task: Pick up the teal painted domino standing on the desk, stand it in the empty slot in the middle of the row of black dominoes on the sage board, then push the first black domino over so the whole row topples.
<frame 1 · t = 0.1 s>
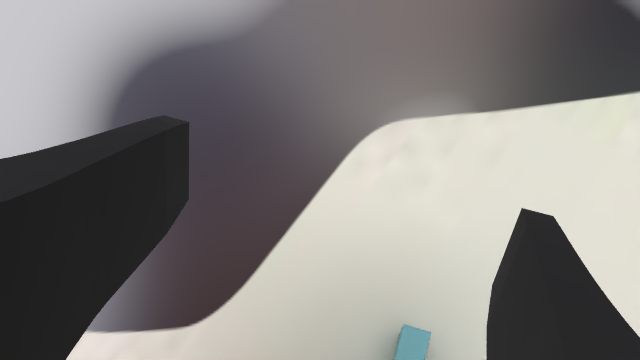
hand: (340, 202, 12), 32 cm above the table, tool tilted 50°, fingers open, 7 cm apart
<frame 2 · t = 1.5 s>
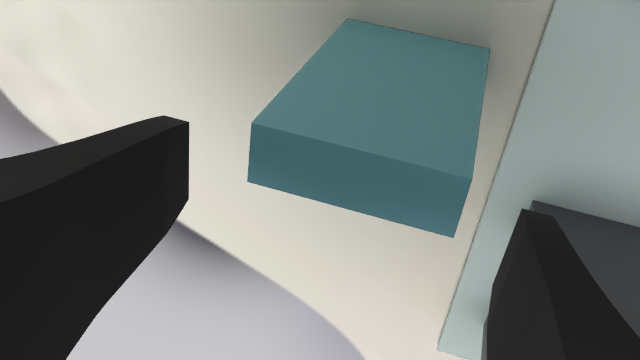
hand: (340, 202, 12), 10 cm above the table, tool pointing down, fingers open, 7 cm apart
teal domino: (412, 55, 21), on the table
black domino 2: (594, 235, 22), resting on sage board
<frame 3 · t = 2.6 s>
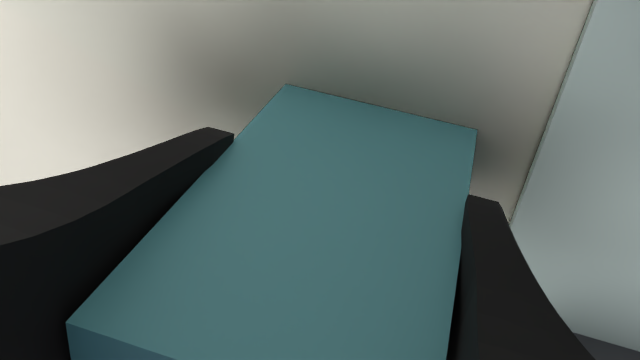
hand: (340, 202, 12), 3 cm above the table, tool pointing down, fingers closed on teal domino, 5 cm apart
teal domino: (373, 134, 15), on the table, touching gripper
when the fingers open (5 cm above the table, at t = 6.5 s): teal domino stays where it is, resting on sage board.
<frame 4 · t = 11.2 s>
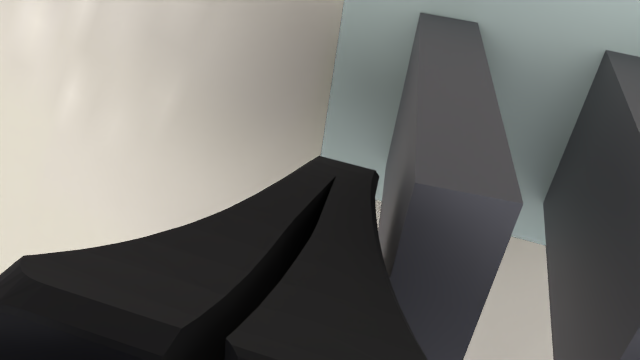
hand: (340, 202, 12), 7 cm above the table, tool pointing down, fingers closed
black domino 1: (428, 99, 18), point 1 cm above the table, tilted 7°, touching gripper, sage board
black domino 2: (600, 139, 17), resting on sage board
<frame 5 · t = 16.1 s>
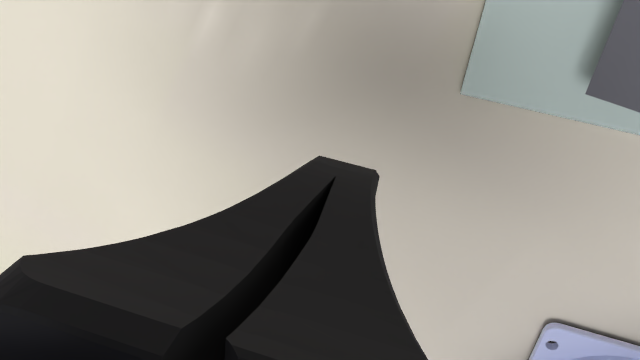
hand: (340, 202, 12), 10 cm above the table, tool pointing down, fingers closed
black domino 1: (623, 10, 17), point 1 cm above the table, tilted 71°, touching black domino 2, sage board
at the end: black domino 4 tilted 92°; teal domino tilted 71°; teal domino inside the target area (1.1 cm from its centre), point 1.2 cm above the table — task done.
